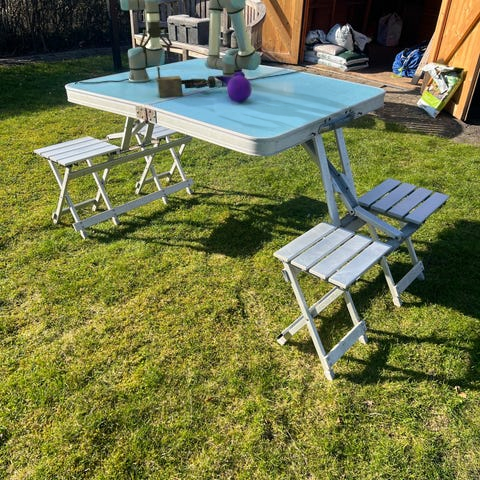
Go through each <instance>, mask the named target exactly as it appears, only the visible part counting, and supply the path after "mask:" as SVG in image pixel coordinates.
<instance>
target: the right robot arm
mask: <svg viewBox="0 0 480 480" xmlns="http://www.w3.org/2000/svg"><path fill="white" fill-rule="evenodd" d="M246 3H247V0H209V1H208V13H209V27H208V29H209V30H208V56H206V57H205V60H204V66H205V67H206V68H207V69H209V70H216V71H217V70H218V71H222V74H221V75H208V77H207V79H206V78H190V79H181V82H182V85H184V89H185V90H187V89H197V90H198V89H202V88H207V87H208V88H209V89H215V88H216V89H217V88H218V89H220V88H227V86H228V85H227V84H226V83H224V82H222V81H220V80H218V79H216V78H215V77H217V76H224V77H234V74H235V73H238V72H243V70H246V71H256V70H257V69H258V68H259V66H260V63H261V54H260V53H258V52H256V49H255V47H254V46H253V45H252V42H251V38H250V34H249V30H248V26H247V23H246V18H245V14H244V10H245V6H246ZM224 9H225V12H226V15H228V16H229V17H230V20H231V25H232V28H233V32H234V36H235V39H236V42H237V43H236V44H237V46H238V48H233V49H232V48H231V49H227V50H225V53H224V55H222V57H221V38H222V37H221V35H222V17H223V15H222V14H223V13H224ZM303 71H306V72H308V70H307V68H304V69H301V70H295V71H291V72H286V73H280V74H274V75H267V76H260V77H255V78H247V79H248V80H249V81H254V80H259V79H260V80H261V79H267V78H273V77H280V76H286V75H292V74H295V73H301V72H303Z"/></svg>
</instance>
